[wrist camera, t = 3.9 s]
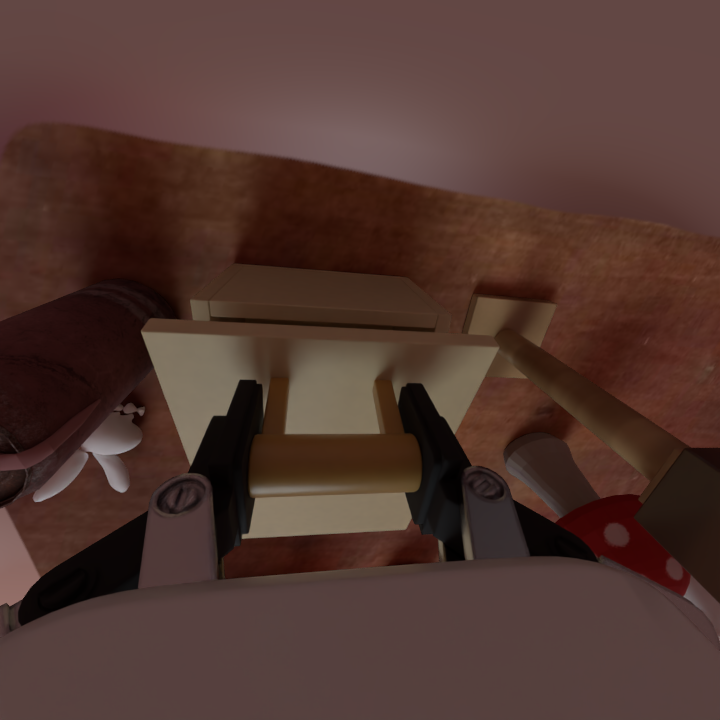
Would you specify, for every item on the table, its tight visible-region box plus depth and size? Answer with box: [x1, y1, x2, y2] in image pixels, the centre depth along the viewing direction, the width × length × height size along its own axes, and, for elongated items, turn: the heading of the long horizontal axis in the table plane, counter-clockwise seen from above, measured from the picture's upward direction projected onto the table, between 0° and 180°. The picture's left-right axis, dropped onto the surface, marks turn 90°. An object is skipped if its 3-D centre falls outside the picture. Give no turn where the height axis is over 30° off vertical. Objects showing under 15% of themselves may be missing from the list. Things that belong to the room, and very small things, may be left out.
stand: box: [462, 294, 691, 504], centre depth 20 cm, size 7×7×16 cm
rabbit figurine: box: [33, 403, 145, 502], centre depth 25 cm, size 6×4×8 cm
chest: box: [190, 263, 452, 333], centre depth 23 cm, size 16×13×9 cm
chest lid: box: [141, 318, 499, 539], centre depth 15 cm, size 16×13×5 cm
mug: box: [683, 576, 720, 640], centre depth 43 cm, size 12×9×12 cm
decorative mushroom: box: [504, 432, 691, 596], centre depth 28 cm, size 10×9×15 cm
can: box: [0, 279, 176, 508], centre depth 17 cm, size 6×6×14 cm
